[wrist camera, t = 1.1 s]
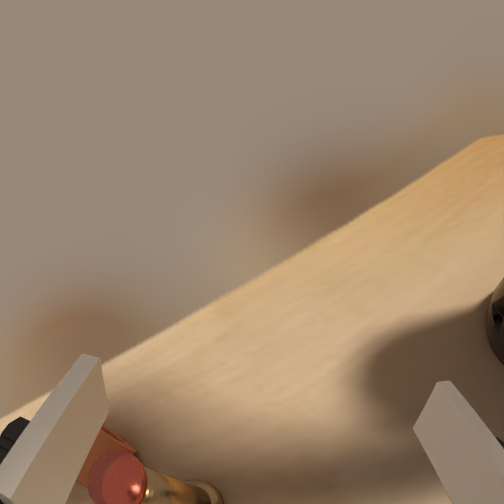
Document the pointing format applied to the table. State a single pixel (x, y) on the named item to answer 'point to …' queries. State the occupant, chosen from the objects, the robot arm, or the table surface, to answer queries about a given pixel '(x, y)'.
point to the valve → (142, 483)
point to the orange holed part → (102, 451)
